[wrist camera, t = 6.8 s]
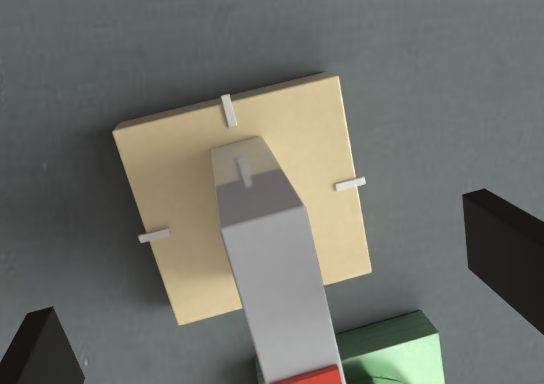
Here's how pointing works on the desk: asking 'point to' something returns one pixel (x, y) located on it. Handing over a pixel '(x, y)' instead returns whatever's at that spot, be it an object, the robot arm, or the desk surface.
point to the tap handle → (274, 266)
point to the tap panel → (201, 194)
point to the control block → (389, 352)
